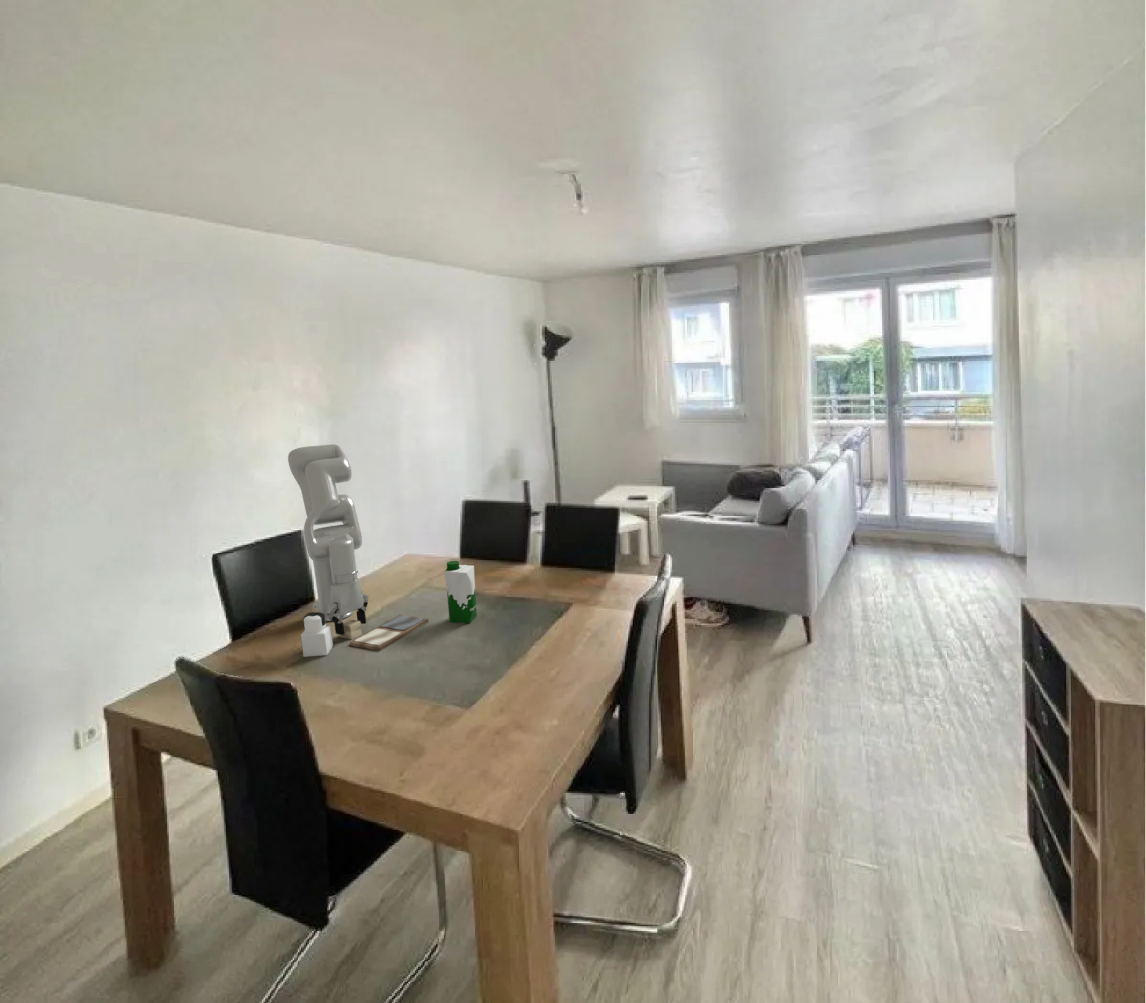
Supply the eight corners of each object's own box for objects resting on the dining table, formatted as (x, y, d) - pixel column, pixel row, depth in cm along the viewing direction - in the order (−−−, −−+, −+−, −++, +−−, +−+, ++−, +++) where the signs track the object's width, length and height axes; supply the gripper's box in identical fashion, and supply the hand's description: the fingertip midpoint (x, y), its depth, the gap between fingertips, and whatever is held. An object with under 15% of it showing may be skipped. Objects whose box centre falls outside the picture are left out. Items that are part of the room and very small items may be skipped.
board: (349, 645, 206) (349, 641, 206) (400, 617, 227) (399, 613, 227) (380, 650, 201) (379, 646, 201) (428, 621, 222) (428, 618, 222)
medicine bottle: (310, 647, 205) (305, 611, 203) (333, 645, 206) (329, 609, 203) (303, 657, 198) (297, 620, 196) (327, 655, 199) (322, 618, 197)
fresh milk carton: (455, 613, 228) (450, 558, 224) (480, 614, 226) (476, 559, 222) (446, 623, 220) (441, 566, 216) (471, 624, 218) (467, 567, 214)
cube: (341, 637, 212) (339, 624, 211) (351, 632, 216) (349, 619, 215) (351, 639, 210) (350, 626, 209) (361, 634, 214) (360, 621, 213)
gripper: (355, 569, 218) (361, 618, 221) (315, 584, 203) (322, 637, 206) (372, 570, 215) (378, 620, 218) (333, 586, 200) (340, 640, 203)
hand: (351, 628), depth 212 cm, fingers open, 9 cm apart
